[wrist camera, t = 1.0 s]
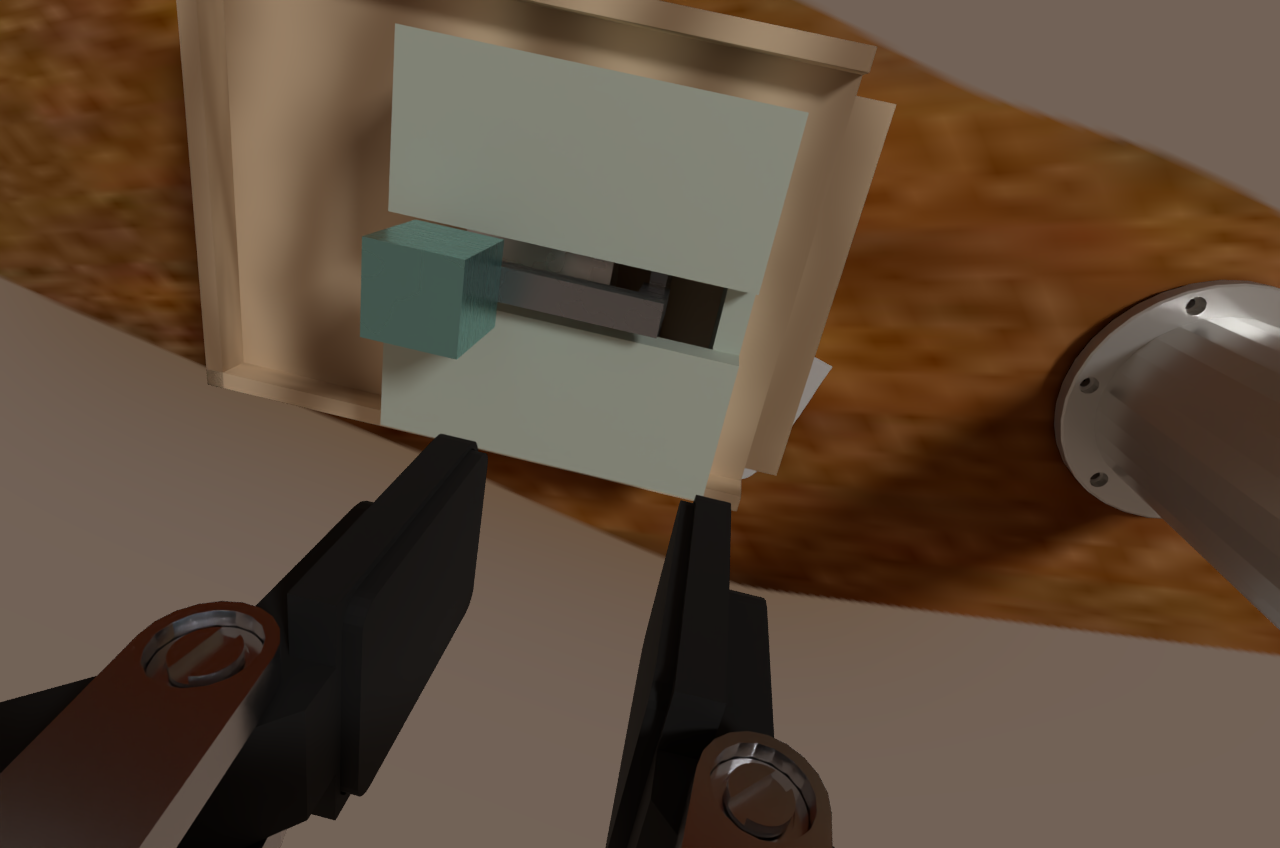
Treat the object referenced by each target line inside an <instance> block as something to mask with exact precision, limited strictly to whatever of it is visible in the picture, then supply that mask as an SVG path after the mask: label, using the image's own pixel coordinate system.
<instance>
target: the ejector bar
mask: <svg viewBox="0 0 1280 848" xmlns="http://www.w3.org/2000/svg"><path fill="white" fill-rule="evenodd" d="M503 247H504V239H499V238H495V237H491V236H486V235H482V234H477V233H473V232H469V231H464V230H460V229H455V228H451V227H447V226H442V225H438V224H433V223H429V222H425V221H420V220H416V219H415V220H412V221H409V222H406V223H403V224H399V225H396V226H393V227H390V228H387V229H383V230H380V231H377V232H374V233H371V234H367V235H364V236H362V259H361V307H360V337H362V338H366V339H371V340H375V341H379V342H383V343H388V344H392V345H396V346H400V347H405V348H409V349H413V350H417V351H422V352H426V353H430V354H434V355H439V356H443V357H447V358H451V359H456V360H457V359H458V358H459V357H460V356H462V355H463V354H464V353H465V352H466V351H467V350H469V349H470V348H471V347H472V346H473V345H474V344H476V343H477V342H478V341H479V340H480V339H481V338H483V337H484V336H485V335H486V334H487V333H489V332H490V331H491V330H492V329H493V328H494V327H495V321H496V312H497V303H498V302H500V303H505V304H509V305H513V306H518V307H522V308H526V309H531V310H535V311H539V312H544V313H548V314H552V315H557V316H561V317H565V318H570V319H574V320H578V321H583V322H587V323H591V324H596V325H600V326H604V327H609V328H613V329H617V330H621V331H626V332H630V333H634V334H639V335H643V336H647V337H652V338H657V337H659V336H660V331H661V327H662V322H663V319H664V316H665V313H666V308H667V303H668V299H669V294H670V290H671V288H670V285H671V281H672V275H667V274H663V273H659V272H654V271H652V273H651V278H650V283H645V282H644V283H643V285H642V287H641V288H640V290H639V292H637V291H632V290H628V289H624V288H619V287H615V286H610V285H606V284H602V283H597V282H593V281H589V280H584V279H580V278H575V277H571V276H567V275H562V274H558V273H554V272H549V271H545V270H540V269H536V268H532V267H527V266H523V265H519V264H514V263H510V262H505V261H502V257H503Z"/></svg>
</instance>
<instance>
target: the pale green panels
mask: <svg viewBox="0 0 1280 848" xmlns="http://www.w3.org/2000/svg"><path fill="white" fill-rule="evenodd" d="M808 114H809V113H808V112H804V111H799V110H794V109H790V108H785V107H780V106H776V105H771V104H766V103H762V102H757V101H753V100H748V99H743V98H739V97H734V96H729V95H725V94H720V93H716V92H711V91H706V90H702V89H697V88H692V87H688V86H683V85H679V84H674V83H669V82H665V81H660V80H655V79H651V78H646V77H641V76H637V75H632V74H628V73H623V72H618V71H614V70H609V69H604V68H600V67H595V66H591V65H586V64H581V63H577V62H572V61H567V60H563V59H558V58H553V57H549V56H544V55H540V54H535V53H530V52H526V51H521V50H516V49H512V48H507V47H503V46H498V45H493V44H489V43H484V42H479V41H475V40H470V39H465V38H461V37H456V36H452V35H447V34H442V33H438V32H433V31H428V30H424V29H419V28H415V27H410V26H405V25H401V24H396V23H395V40H394V67H393V95H392V122H391V150H390V177H389V204H388V211H390V212H394V213H399V214H403V215H408V216H412V217H416V218H421V219H425V220H430V221H434V222H438V223H443V224H447V225H452V226H456V227H460V228H465V229H469V230H474V231H478V232H482V233H487V234H491V235H496V236H500V237H504V238H509V239H513V240H518V241H522V242H526V243H531V244H535V245H540V246H544V247H548V248H553V249H557V250H562V251H566V252H571V253H575V254H579V255H584V256H588V257H593V258H597V259H601V260H606V261H610V262H615V263H619V264H623V265H628V266H632V267H637V268H641V269H645V270H650V271H654V272H659V273H663V274H667V275H672V276H676V277H681V278H685V279H689V280H694V281H698V282H703V283H707V284H711V285H716V286H720V287H724V289H723V293H722V297H721V301H720V305H719V309H718V313H717V317H716V321H715V325H714V329H713V333H712V337H711V341H710V345H709V349H708V348H703V347H699V346H695V345H690V344H686V343H682V342H677V341H673V340H669V339H664V338H660V337H657V338H652V337H647V336H643V335H639V334H634V333H630V332H626V331H621V330H617V329H613V328H609V327H604V326H600V325H596V324H591V323H587V322H583V321H578V320H574V319H570V318H565V317H561V316H557V315H552V314H548V313H544V312H539V311H535V310H531V309H526V308H522V307H518V306H513V305H509V304H505V303H500V302H498V303H497V312H496V321H495V327H494V328H493V329H492V330H491V331H490V332H489V333H487V334H486V335H485V336H484V337H483V338H481V339H480V340H479V341H478V342H477V343H476V344H474V345H473V346H472V347H471V348H470V349H469V350H467V351H466V352H465V353H464V354H463V355H462V356H460V357H459V358H458V359H457V360H456V359H451V358H447V357H443V356H439V355H434V354H430V353H426V352H422V351H417V350H413V349H409V348H405V347H400V346H396V345H392V344H388V343H383V369H382V396H381V424H380V425H383V426H388V427H392V428H396V429H400V430H404V431H408V432H413V433H417V434H421V435H425V436H429V437H433V438H436V436H438V435H439V434H446V435H450V436H454V437H458V438H463V439H467V440H471V441H475V442H476V443H477V446H478V448H479V449H483V450H488V451H492V452H496V453H500V454H504V455H508V456H513V457H517V458H521V459H525V460H529V461H533V462H538V463H542V464H546V465H550V466H554V467H558V468H563V469H567V470H571V471H575V472H579V473H583V474H588V475H592V476H596V477H600V478H604V479H608V480H613V481H617V482H621V483H625V484H629V485H633V486H638V487H642V488H646V489H650V490H654V491H658V492H663V493H667V494H671V495H675V496H679V497H683V498H688V499H692V500H694V499H695V496H696V495H700V496H704V492H705V488H706V485H707V481H708V478H709V474H710V470H711V467H712V463H713V459H714V456H715V452H716V448H717V445H718V441H719V438H720V434H721V430H722V427H723V423H724V419H725V416H726V412H727V408H728V405H729V401H730V398H731V394H732V390H733V387H734V383H735V379H736V376H737V372H738V368H739V354H740V351H741V347H742V343H743V340H744V336H745V332H746V329H747V325H748V321H749V318H750V314H751V310H752V307H753V303H754V299H755V296H756V295H759V292H760V288H761V285H762V281H763V278H764V274H765V270H766V267H767V263H768V259H769V256H770V252H771V248H772V245H773V241H774V238H775V234H776V230H777V227H778V223H779V219H780V216H781V212H782V208H783V205H784V201H785V198H786V194H787V190H788V187H789V183H790V179H791V176H792V172H793V168H794V165H795V161H796V158H797V154H798V150H799V147H800V143H801V139H802V136H803V132H804V128H805V125H806V121H807V118H808Z"/></svg>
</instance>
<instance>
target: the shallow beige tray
mask: <svg viewBox="0 0 1280 848" xmlns="http://www.w3.org/2000/svg"><path fill="white" fill-rule="evenodd" d="M176 1H177V13H178V26H179V38H180V50H181V62H182V75H183V87H184V99H185V111H186V124H187V136H188V148H189V161H190V173H191V185H192V197H193V210H194V222H195V234H196V246H197V259H198V271H199V283H200V296H201V308H202V320H203V332H204V345H205V357H206V369H207V381H208V385H213V386H216V387H221V388H225V389H229V390H233V391H237V392H241V393H245V394H250V395H254V396H258V397H262V398H267V399H271V400H275V401H279V402H283V403H287V404H291V405H296V406H300V407H304V408H308V409H312V410H316V411H320V412H325V413H329V414H333V415H337V416H341V417H345V418H350V419H354V420H358V421H362V422H366V423H370V424H375V425H379V426H383V425H380V424H381V396H382V369H383V342H379V341H375V340H371V339H366V338H362V337H360V307H361V259H362V236H364V235H367V234H371V233H374V232H377V231H380V230H383V229H387V228H390V227H393V226H396V225H399V224H403V223H406V222H409V221H412V220H415V219H416V220H420V221H425V222H429V223H433V224H438V225H442V226H447V227H451V228H455V229H460V230H464V231H467V229H465V228H460V227H456V226H452V225H447V224H443V223H438V222H434V221H430V220H425V219H421V218H416V217H412V216H408V215H403V214H399V213H394V212H390V211H388V204H389V177H390V150H391V122H392V95H393V67H394V40H395V23H396V24H401V25H405V26H410V27H415V28H419V29H424V30H428V31H433V32H438V33H442V34H447V35H452V36H456V37H461V38H465V39H470V40H475V41H479V42H484V43H489V44H493V45H498V46H503V47H507V48H512V49H516V50H521V51H526V52H530V53H535V54H540V55H544V56H549V57H553V58H558V59H563V60H567V61H572V62H577V63H581V64H586V65H591V66H595V67H600V68H604V69H609V70H614V71H618V72H623V73H628V74H632V75H637V76H641V77H646V78H651V79H655V80H660V81H665V82H669V83H674V84H679V85H683V86H688V87H692V88H697V89H702V90H706V91H711V92H716V93H720V94H725V95H729V96H734V97H739V98H743V99H748V100H753V101H757V102H762V103H766V104H771V105H776V106H780V107H785V108H790V109H794V110H799V111H804V112H808V113H809V114H808V118H807V121H806V125H805V128H804V132H803V136H802V139H801V143H800V147H799V150H798V154H797V158H796V161H795V165H794V168H793V172H792V176H791V179H790V183H789V187H788V190H787V194H786V198H785V201H784V205H783V208H782V212H781V216H780V219H779V223H778V227H777V230H776V234H775V238H774V241H773V245H772V248H771V252H770V256H769V259H768V263H767V267H766V270H765V274H764V278H763V281H762V285H761V288H760V292H759V295H756V296H755V299H754V303H753V307H752V310H751V314H750V318H749V321H748V325H747V329H746V332H745V336H744V340H743V343H742V347H741V351H740V354H739V368H738V372H737V376H736V379H735V383H734V387H733V390H732V394H731V398H730V401H729V405H728V408H727V412H726V416H725V419H724V423H723V427H722V430H721V434H720V438H719V441H718V445H717V448H716V452H715V456H714V459H713V463H712V467H711V470H710V474H709V478H708V481H707V485H706V488H705V492H704V497H709V498H713V499H717V500H721V501H725V502H729V503H731V510H733V511H737V508H738V505H739V502H740V498H741V479H742V476H743V472H744V469H745V468H747V469H751V470H755V471H759V472H763V473H768V474H772V475H777V472H778V468H779V465H780V462H781V459H782V456H783V453H784V450H785V447H786V444H787V441H788V438H789V434H790V431H791V428H792V425H793V422H794V419H795V416H796V413H797V410H798V407H799V404H800V400H801V397H802V394H803V391H804V388H805V385H806V382H807V379H808V376H809V373H810V370H811V366H812V363H813V360H814V357H815V354H816V351H817V348H818V345H819V342H820V339H821V336H822V332H823V329H824V326H825V323H826V320H827V317H828V314H829V311H830V308H831V305H832V302H833V298H834V295H835V292H836V289H837V286H838V283H839V280H840V277H841V274H842V271H843V268H844V264H845V261H846V258H847V255H848V252H849V249H850V246H851V243H852V240H853V237H854V234H855V230H856V227H857V224H858V221H859V218H860V215H861V212H862V209H863V206H864V203H865V200H866V196H867V193H868V190H869V187H870V184H871V181H872V178H873V175H874V172H875V169H876V166H877V162H878V159H879V156H880V153H881V150H882V147H883V144H884V141H885V138H886V135H887V132H888V128H889V125H890V122H891V119H892V116H893V113H894V110H895V107H896V104H891V103H887V102H882V101H877V100H873V99H868V98H863V97H859V96H856V95H857V91H858V88H859V85H860V81H861V78H862V75H864V74H867V73H869V72H870V69H871V66H872V62H873V59H874V56H875V52H876V49H877V47H876V46H872V45H867V44H862V43H857V42H853V41H848V40H843V39H838V38H834V37H829V36H824V35H820V34H815V33H810V32H805V31H801V30H796V29H791V28H786V27H782V26H777V25H772V24H767V23H763V22H758V21H753V20H749V19H744V18H739V17H734V16H730V15H725V14H720V13H715V12H711V11H706V10H701V9H696V8H692V7H687V6H682V5H678V4H673V3H668V2H663V1H659V0H176ZM651 273H652V271H650V270H645V269H641V268H637V267H632V266H628V265H623V264H620V266H619V271H618V277H617V282H616V287H619V288H624V289H628V290H632V291H637V292H639V290H640V288H641V287H642V285H643V283H644V282H645V283H650V278H651ZM670 288H671V290H670V294H669V299H668V303H667V308H666V313H665V316H664V319H663V322H662V327H661V331H660V336H659V337H660V338H664V339H669V340H673V341H677V342H682V343H686V344H690V345H695V346H699V347H703V348H708V349H709V345H710V341H711V337H712V333H713V329H714V325H715V321H716V317H717V313H718V309H719V305H720V301H721V297H722V293H723V289H724V287H720V286H716V285H711V284H707V283H703V282H698V281H694V280H689V279H685V278H681V277H676V276H672V281H671V285H670ZM383 427H387V428H391V429H395V430H400V429H396V428H392V427H388V426H383ZM400 431H404V430H400ZM404 432H408V431H404ZM408 433H412V434H416V435H420V436H425V435H421V434H417V433H413V432H408ZM425 437H429V436H425ZM429 438H433V437H429ZM433 439H435V438H433ZM478 449H479V448H478ZM479 450H483V449H479ZM483 451H487V452H491V453H495V454H499V455H504V454H500V453H496V452H492V451H488V450H483ZM504 456H508V455H504ZM508 457H512V458H516V459H520V460H524V461H529V460H525V459H521V458H517V457H513V456H508ZM529 462H533V461H529ZM533 463H537V464H541V465H545V466H549V467H554V466H550V465H546V464H542V463H538V462H533ZM554 468H558V467H554ZM558 469H562V470H566V471H570V472H574V473H579V472H575V471H571V470H567V469H563V468H558ZM579 474H583V473H579ZM583 475H587V476H591V477H595V478H599V479H604V478H600V477H596V476H592V475H588V474H583ZM604 480H608V479H604ZM608 481H612V482H616V483H620V484H624V485H629V484H625V483H621V482H617V481H613V480H608ZM629 486H633V485H629ZM633 487H637V488H641V489H645V490H649V491H654V490H650V489H646V488H642V487H638V486H633ZM654 492H658V491H654ZM658 493H662V494H666V495H670V496H674V497H679V496H675V495H671V494H667V493H663V492H658ZM679 498H683V497H679ZM683 499H687V500H691V501H694V500H692V499H688V498H683Z"/></svg>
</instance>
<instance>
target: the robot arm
mask: <svg viewBox="0 0 1280 848" xmlns="http://www.w3.org/2000/svg"><path fill="white" fill-rule="evenodd" d="M1189 300H1190V301H1189ZM1188 302H1189V303H1188ZM1187 303H1188V304H1187ZM1186 304H1187V305H1186ZM1084 379H1086V380H1085V381H1084V382H1083V383H1081V382H1082V381H1083V380H1084ZM1054 429H1055V437H1056V444H1057V447H1058V449H1059V452H1060V454H1061V457H1062V460H1063V462H1064V463H1065V465H1066V466H1067V468H1068V469H1069V470H1070V472H1071V473H1072V475H1073V476H1074V478H1075V479H1076V480H1077V481H1078V482H1079V483H1080V484H1081V485H1082V486H1083V487H1084V488H1085V489H1086V490H1087V491H1088V492H1089V493H1091V494H1092V495H1094V496H1095V497H1096V498H1098V499H1099V500H1101V501H1102V502H1104V503H1105V504H1107V505H1110V506H1112V507H1114V508H1116V509H1119V510H1121V511H1123V512H1126V513H1130V514H1135V515H1139V516H1143V517H1147V518H1162V519H1164V520H1165V521H1166V522H1167V523H1168V524H1169V525H1170V526H1171V527H1172V528H1173V529H1174V530H1175V531H1176V532H1177V533H1178V534H1179V535H1180V536H1181V537H1182V538H1184V539H1185V540H1186V541H1187V542H1188V543H1189V544H1190V545H1191V546H1192V547H1193V548H1194V549H1195V550H1196V551H1197V552H1198V553H1199V554H1200V555H1201V556H1202V557H1203V558H1205V559H1206V560H1207V561H1208V562H1209V563H1210V564H1211V565H1212V566H1213V567H1214V568H1215V569H1216V570H1217V571H1218V572H1219V573H1220V574H1221V575H1222V576H1223V577H1225V578H1226V579H1227V580H1228V581H1229V582H1230V583H1231V584H1232V585H1233V586H1234V587H1235V588H1236V589H1237V590H1238V591H1239V592H1240V593H1241V594H1242V595H1243V596H1245V597H1246V598H1247V599H1248V600H1249V601H1250V602H1251V603H1252V604H1253V605H1254V606H1255V607H1256V608H1257V609H1258V610H1259V611H1260V612H1261V613H1262V614H1263V615H1265V616H1266V617H1267V618H1268V619H1269V620H1270V621H1271V622H1272V623H1273V624H1274V625H1275V626H1276V627H1277V628H1278V629H1279V630H1280V289H1279V288H1277V287H1274V286H1269V285H1265V284H1260V283H1256V282H1251V281H1238V280H1216V281H1209V282H1201V283H1194V284H1189V285H1186V286H1182V287H1179V288H1176V289H1172V290H1169V291H1166V292H1163V293H1160V294H1158V295H1156V296H1154V297H1152V298H1150V299H1148V300H1145V301H1143V302H1141V303H1139V304H1137V305H1135V306H1134V307H1132V308H1131V309H1129V310H1128V311H1126V312H1125V313H1123V314H1122V315H1120V316H1119V317H1117V318H1115V319H1114V320H1112V321H1111V322H1110V323H1109V324H1108V325H1107V326H1106V327H1105V328H1103V329H1102V330H1101V331H1100V332H1099V333H1098V334H1097V335H1096V336H1095V337H1093V338H1092V339H1091V340H1090V342H1089V343H1088V344H1087V345H1086V347H1085V348H1084V349H1083V350H1082V352H1081V353H1080V354H1079V355H1078V357H1077V358H1076V359H1075V361H1074V362H1073V364H1072V366H1071V368H1070V370H1069V371H1068V373H1067V375H1066V377H1065V379H1064V380H1063V383H1062V386H1061V389H1060V392H1059V395H1058V398H1057V401H1056V408H1055V417H1054ZM487 464H488V457H487V454H486V453H482V452H478V446H477V443H476V442H475V441H471V440H467V439H463V438H458V437H454V436H450V435H446V434H439V435H438V436H436V438H435V439H434V440H433V441H432V442H431V443H430V444H429V445H428V446H427V447H426V448H425V449H424V450H423V451H422V452H421V453H420V454H419V455H418V456H417V458H416V459H415V460H414V461H413V462H412V463H411V464H410V465H409V466H408V467H407V468H406V469H405V470H404V471H403V472H402V473H401V475H399V477H397V479H396V480H395V481H394V482H393V483H392V484H391V485H390V486H389V487H388V488H387V489H386V490H385V491H384V492H383V493H382V494H381V495H380V496H379V497H378V499H377V500H376V501H375V502H374V503H373V502H369V501H362V502H360V503H359V504H357V505H356V506H354V507H353V508H352V509H351V510H350V511H349V512H348V514H346V515H345V516H344V517H343V518H342V519H341V521H339V523H337V524H336V525H335V526H334V527H333V528H332V529H331V530H330V532H329V533H328V534H327V535H326V536H325V537H324V538H323V539H322V540H321V541H320V542H319V543H318V544H317V545H316V546H315V547H314V548H313V549H312V550H311V551H310V552H309V553H308V554H307V555H306V556H305V557H304V558H303V559H302V560H301V561H300V562H299V563H298V564H297V565H296V566H295V567H294V568H293V569H292V570H291V571H290V572H289V573H288V574H287V575H286V576H285V577H284V578H283V579H282V580H281V581H280V582H279V583H278V584H277V585H276V586H275V587H274V588H273V589H272V590H271V591H270V592H269V593H268V594H267V595H266V596H265V597H264V598H263V599H262V600H261V601H260V602H259V603H258V604H257V605H256V606H253V605H250V604H246V603H243V602H228V601H218V602H210V603H202V604H197V605H193V606H190V607H187V608H183V609H180V610H177V611H174V612H172V613H170V614H168V615H166V616H164V617H162V618H160V619H158V620H156V621H154V622H153V623H152V624H151V625H149V626H148V627H147V628H146V629H144V630H143V631H142V632H140V633H139V634H138V635H137V636H136V637H135V638H134V639H133V640H132V641H131V642H130V643H129V644H128V645H127V646H126V647H125V648H124V649H123V650H122V651H121V652H120V653H119V654H118V655H117V656H116V657H115V658H114V659H113V660H112V661H111V662H110V663H109V664H108V665H107V666H106V667H105V668H104V669H103V670H102V671H101V672H100V673H99V674H98V675H97V676H95V677H91V678H87V679H84V680H80V681H77V682H73V683H69V684H66V685H62V686H58V687H55V688H51V689H47V690H44V691H40V692H37V693H33V694H29V695H26V696H22V697H18V698H15V699H11V700H7V701H4V702H0V848H280V847H281V845H282V842H283V839H284V836H285V833H286V830H287V829H288V828H290V827H293V826H295V825H297V824H299V823H301V822H304V821H306V820H307V819H308V818H309V816H310V815H311V814H313V815H317V816H321V817H324V818H328V819H332V820H336V818H337V817H338V815H339V813H340V811H341V810H342V808H343V806H344V805H345V803H346V801H347V799H348V797H349V796H350V794H353V795H357V796H362V795H363V794H364V793H365V792H366V791H367V789H368V788H369V786H370V784H371V783H372V781H373V779H374V777H375V775H376V774H377V772H378V770H379V768H380V767H381V765H382V763H383V761H384V759H385V757H386V756H387V754H388V752H389V750H390V748H391V747H392V745H393V743H394V741H395V739H396V738H397V736H398V734H399V732H400V730H401V729H402V727H403V725H404V723H405V721H406V720H407V718H408V716H409V714H410V712H411V711H412V709H413V707H414V705H415V703H416V702H417V700H418V698H419V696H420V694H421V692H422V691H423V689H424V687H425V685H426V683H427V682H428V680H429V678H430V676H431V674H432V673H433V671H434V669H435V667H436V665H437V664H438V662H439V660H440V658H441V656H442V655H443V653H444V651H445V649H446V647H447V646H448V644H449V642H450V640H451V638H452V637H453V634H454V633H455V631H456V629H457V627H458V626H459V624H460V622H461V620H462V619H463V617H464V615H465V613H466V611H467V609H468V606H469V603H470V600H471V597H472V592H473V587H474V578H475V569H476V560H477V552H478V543H479V534H480V525H481V516H482V508H483V499H484V490H485V482H486V473H487ZM730 536H731V503H729V502H725V501H721V500H717V499H713V498H709V497H704V496H700V495H696V496H695V499H694V502H693V503H690V502H686V501H680V504H679V508H678V511H677V515H676V519H675V523H674V527H673V531H672V535H671V538H670V542H669V546H668V550H667V554H666V558H665V562H664V566H663V570H662V573H661V577H660V581H659V585H658V589H657V593H656V597H655V601H654V604H653V608H652V612H651V616H650V619H649V623H648V627H647V631H646V635H645V639H644V644H643V648H642V653H641V659H640V664H639V669H638V674H637V680H636V685H635V691H634V696H633V702H632V707H631V712H630V718H629V724H628V729H627V734H626V740H625V745H624V750H623V756H622V761H621V767H620V772H619V778H618V783H617V789H616V794H615V799H614V805H613V810H612V816H611V821H610V826H609V832H608V837H607V843H606V848H834V847H833V846H832V812H831V806H830V801H829V796H828V792H827V790H826V788H825V786H824V784H823V782H822V780H821V778H820V776H819V774H818V773H817V772H816V771H815V770H814V768H813V767H812V766H811V765H810V764H809V763H808V761H807V760H806V759H805V758H804V757H803V756H802V755H801V754H799V753H798V752H797V751H795V750H794V749H792V748H791V747H790V746H789V745H787V744H786V743H784V742H781V741H779V740H777V739H775V738H774V727H773V709H772V693H771V692H772V691H771V674H770V654H769V636H768V618H767V606H766V600H765V599H764V598H762V597H757V596H753V595H749V594H745V593H741V592H737V591H733V590H729V579H730Z"/></svg>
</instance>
